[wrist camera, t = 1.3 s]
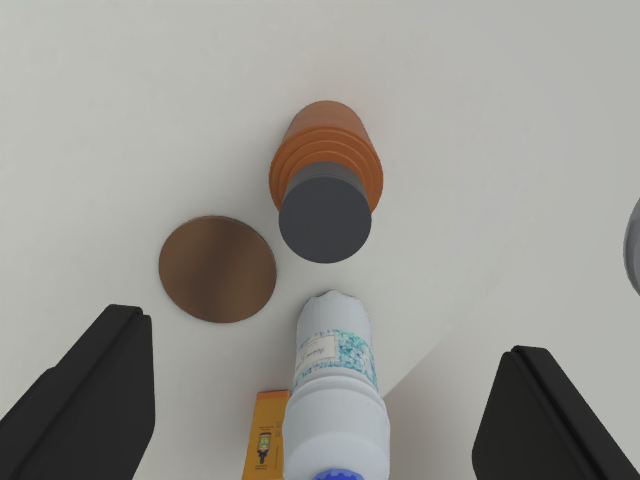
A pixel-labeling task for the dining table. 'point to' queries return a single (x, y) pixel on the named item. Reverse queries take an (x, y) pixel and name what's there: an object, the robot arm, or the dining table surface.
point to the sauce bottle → (326, 149)
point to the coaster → (217, 269)
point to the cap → (325, 213)
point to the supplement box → (267, 438)
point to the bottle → (335, 397)
